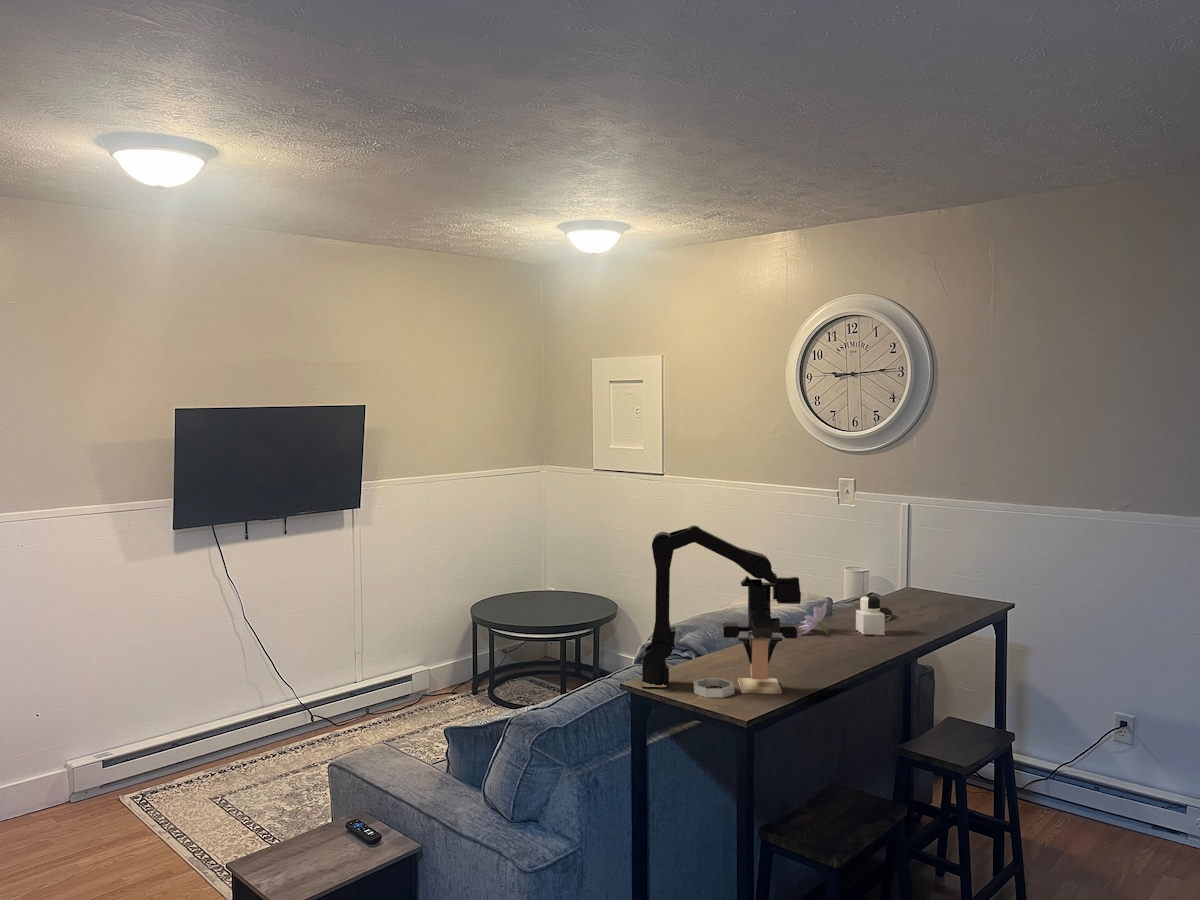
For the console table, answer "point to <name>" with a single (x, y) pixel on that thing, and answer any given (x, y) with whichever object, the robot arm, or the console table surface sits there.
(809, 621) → the water lily
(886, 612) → the hairbrush
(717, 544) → the robot arm
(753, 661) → the peg
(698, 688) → the metal ring
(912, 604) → the console table surface
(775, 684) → the maple board
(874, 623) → the medicine bottle
